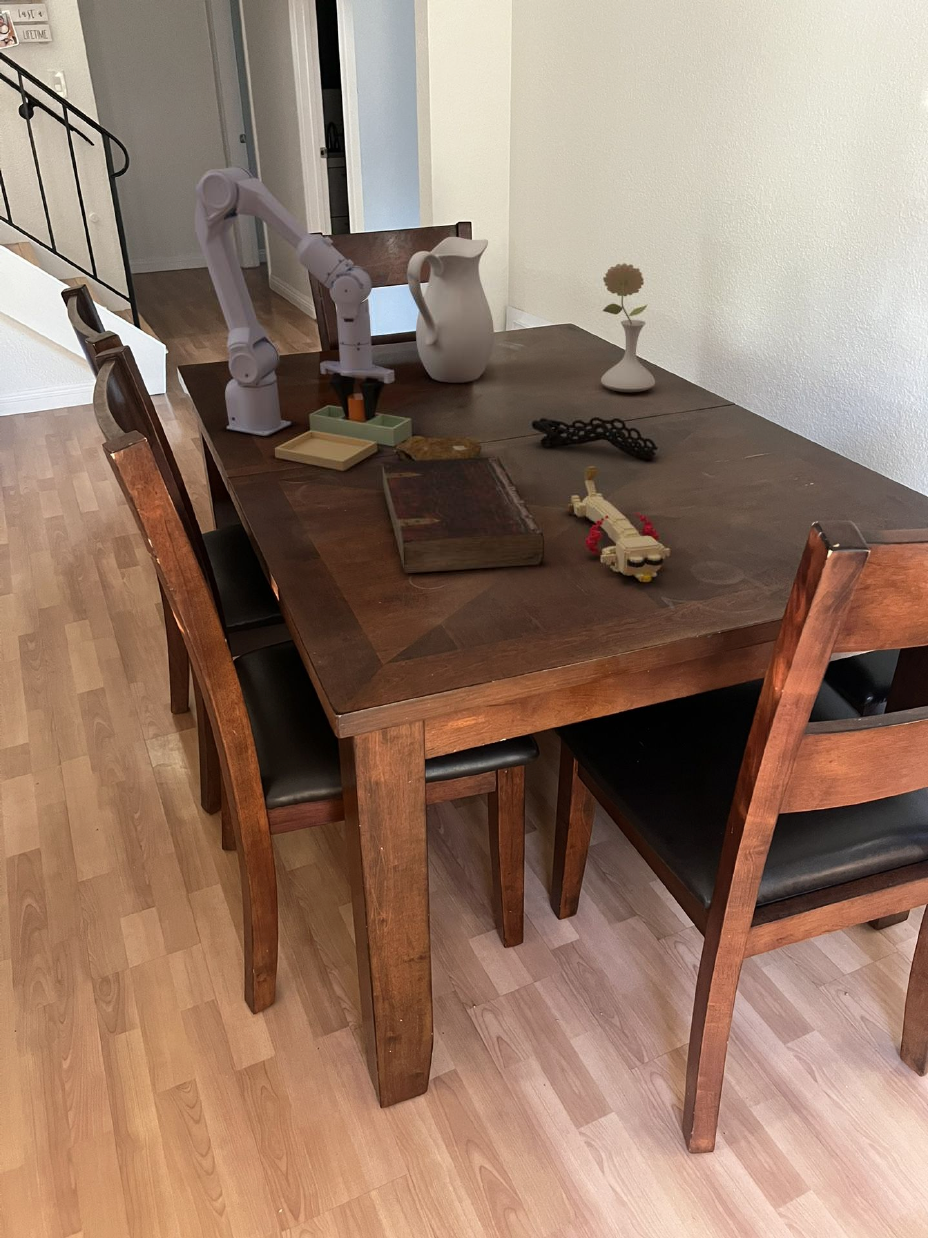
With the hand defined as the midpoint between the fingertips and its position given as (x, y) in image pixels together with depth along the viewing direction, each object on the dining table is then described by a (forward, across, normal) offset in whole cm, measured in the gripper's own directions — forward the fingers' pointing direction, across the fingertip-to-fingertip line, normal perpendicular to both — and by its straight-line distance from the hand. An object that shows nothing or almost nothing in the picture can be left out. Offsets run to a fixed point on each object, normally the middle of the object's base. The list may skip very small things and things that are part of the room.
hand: (359, 416), depth 165 cm
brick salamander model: (+3, +58, -24) cm, 63 cm away
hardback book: (+3, +34, -28) cm, 44 cm away
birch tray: (+3, 0, -12) cm, 12 cm away
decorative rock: (+3, +20, -7) cm, 21 cm away
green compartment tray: (+3, 0, 0) cm, 3 cm away
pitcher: (+3, -2, +38) cm, 39 cm away
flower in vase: (+3, +34, +50) cm, 60 cm away
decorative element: (+3, +42, +10) cm, 43 cm away
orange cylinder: (+1, 0, 0) cm, 1 cm away
